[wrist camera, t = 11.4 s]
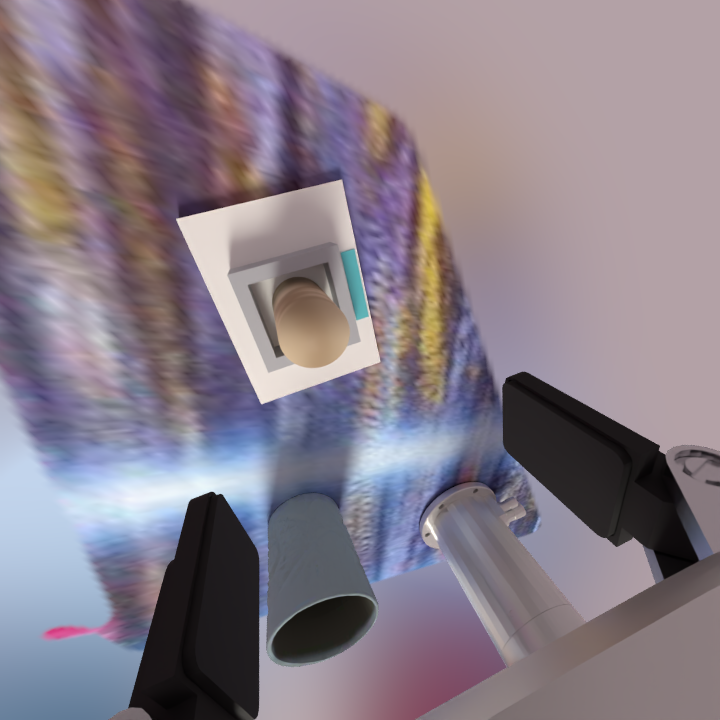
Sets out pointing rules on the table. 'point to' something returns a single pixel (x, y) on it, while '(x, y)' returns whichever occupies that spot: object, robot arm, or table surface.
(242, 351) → the white square-hole tray
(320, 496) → the grey cylindrical pot
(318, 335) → the barrel peg
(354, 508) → the table surface
